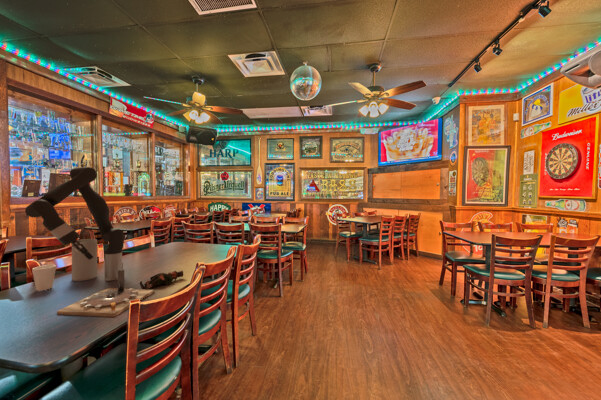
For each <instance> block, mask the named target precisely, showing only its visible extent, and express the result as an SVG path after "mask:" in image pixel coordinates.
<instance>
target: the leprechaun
mask: <svg viewBox="0 0 601 400" xmlns="http://www.w3.org/2000/svg"><path fill="white" fill-rule="evenodd" d="M183 277H184V271H183V270H180V271H177V270H174V271H172V272H171V271H170V272H168V273H165V272H161V273H157V274H155V275H152V276H151V277H150V278H149V279H150V280H146V281H145V282H144V284H143V281H142V280H141V281H139V287H141V288H140V289H147V290H150V289H151V288H154V287H158V286H160V285H165V286H167V285H168V286H170V285H171V284H172V283H173V281H174V280H175V281H176V280H177V279H178V278H183Z"/></svg>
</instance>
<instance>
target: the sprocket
mask: <svg viewBox="0 0 601 400" xmlns="http://www.w3.org/2000/svg"><path fill="white" fill-rule="evenodd" d="M117 288H118V290H113V291H111V290H106V292H103V293H98V292H96V293H93V294H92V295H93V296H92V297H89V296H88V297H89V298H87V297H84V298H83V299H82V300H83V302H81V303H80V306H84V305H86V306H84V309H88V308H91V307H95V310H96V309H101V308H102V307H106V306H111V305H114V304H115V306H116V304H119V303H122V302H124V303H127V302H129V299H130V298H136V297H137V294H138V290H136V291H134V289H135V288H133V287H132V288H131V287H130V288H127V289H128V290H124V289H125V269H123V270H118V279H117ZM84 301H86V302H84Z"/></svg>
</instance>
